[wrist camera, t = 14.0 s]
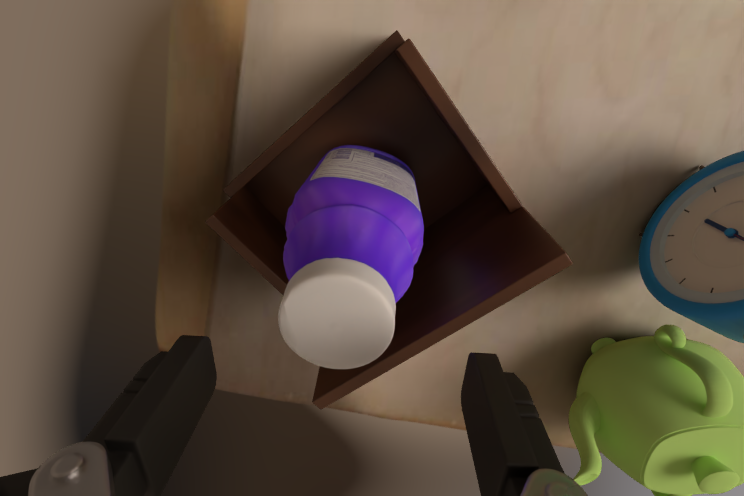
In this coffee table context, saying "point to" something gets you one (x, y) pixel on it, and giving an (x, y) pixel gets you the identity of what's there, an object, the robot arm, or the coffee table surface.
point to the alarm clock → (700, 248)
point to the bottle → (349, 256)
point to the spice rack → (436, 198)
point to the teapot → (661, 414)
